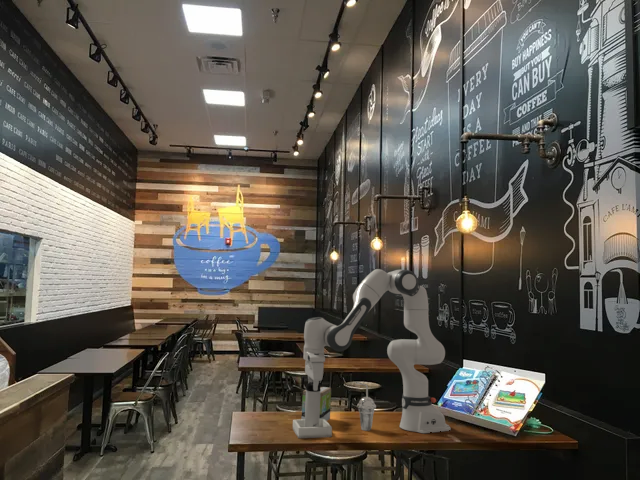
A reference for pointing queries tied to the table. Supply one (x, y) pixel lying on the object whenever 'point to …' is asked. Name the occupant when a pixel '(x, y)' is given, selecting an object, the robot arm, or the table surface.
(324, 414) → the tea box
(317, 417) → the travel mug
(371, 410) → the cup with straw
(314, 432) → the tray
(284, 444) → the table surface
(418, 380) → the robot arm
